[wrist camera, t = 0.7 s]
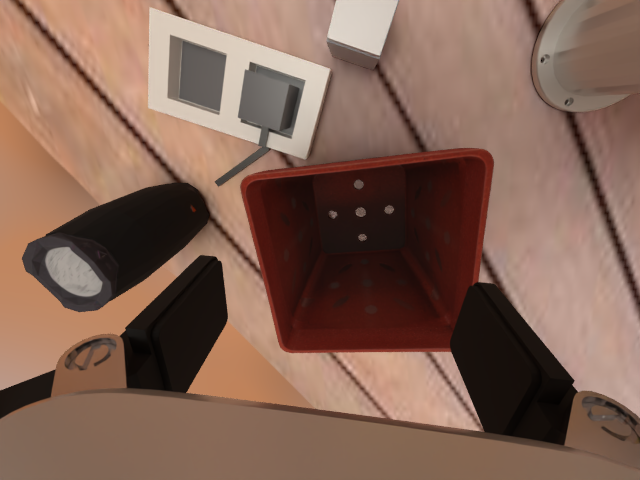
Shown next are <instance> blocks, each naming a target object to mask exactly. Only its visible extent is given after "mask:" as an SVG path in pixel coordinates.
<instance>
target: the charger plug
mask: <svg viewBox="0 0 640 480" xmlns="http://www.w3.org/2000/svg"><path fill="white" fill-rule="evenodd" d="M398 2H399V0H336V4H335V8H334V12H333V16H332V20H331V24H330V27H329V31H328V35H327V44H328V47H329V49H330V52H331V55H332V56H333V57H336V58H338V59H341V60H344V61H347V62H350V63H353V64H356V65H359V66H362V67H365V68H368V69H371V70H374V68H375V66H376V64H377V63H378V61H379V59H380V56H381V53H382V50H383V47H384V44H385V41H386V38H387V35H388V32H389V29H390V26H391V23H392V20H393V17H394V14H395V11H396V8H397V5H398Z"/></svg>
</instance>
